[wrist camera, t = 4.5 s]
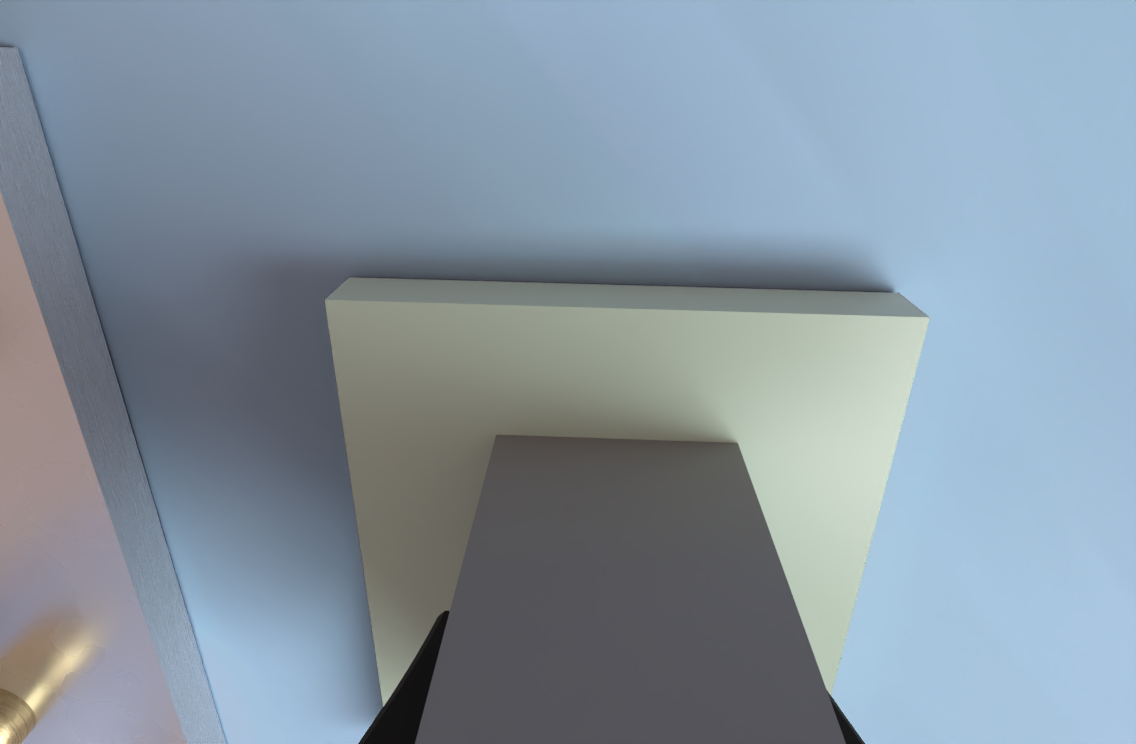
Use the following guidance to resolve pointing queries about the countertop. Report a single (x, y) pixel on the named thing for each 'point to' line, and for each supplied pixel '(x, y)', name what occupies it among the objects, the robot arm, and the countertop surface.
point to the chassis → (75, 495)
